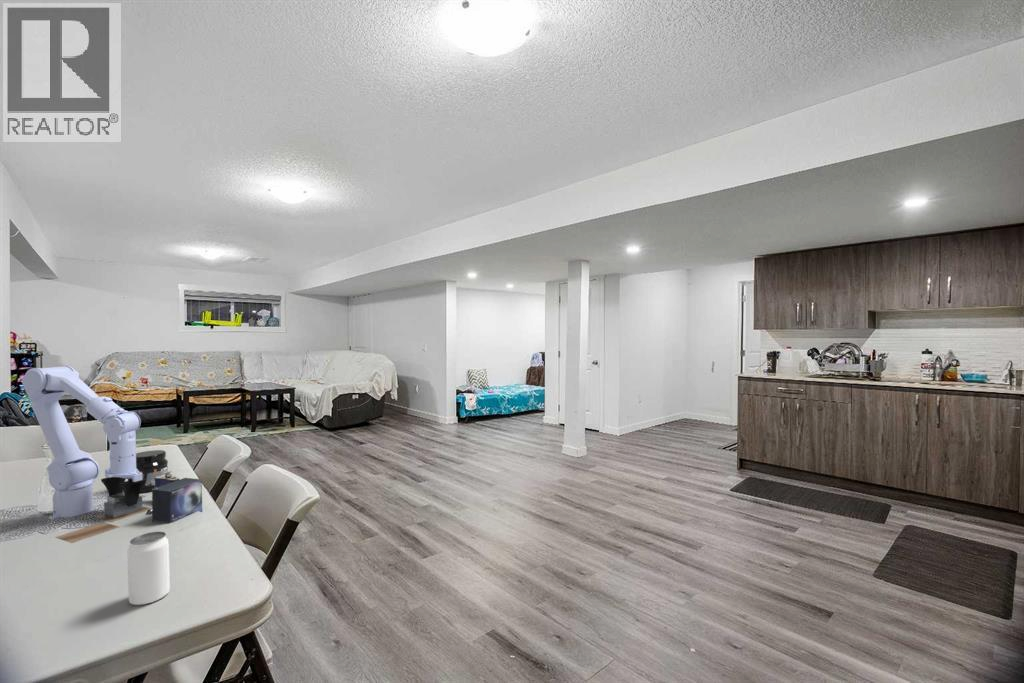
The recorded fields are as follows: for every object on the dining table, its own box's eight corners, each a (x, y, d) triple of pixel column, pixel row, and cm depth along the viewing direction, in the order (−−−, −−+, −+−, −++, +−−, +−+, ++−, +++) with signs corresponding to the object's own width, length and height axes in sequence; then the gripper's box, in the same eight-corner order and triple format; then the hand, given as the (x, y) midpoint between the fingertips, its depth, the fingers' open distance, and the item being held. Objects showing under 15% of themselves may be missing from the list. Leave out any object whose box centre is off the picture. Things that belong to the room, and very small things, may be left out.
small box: (170, 529, 124) (169, 490, 124) (150, 527, 125) (149, 489, 125) (204, 514, 135) (203, 478, 134) (185, 512, 136) (184, 477, 136)
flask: (153, 506, 141) (152, 471, 141) (163, 503, 144) (162, 468, 143) (174, 510, 138) (173, 474, 138) (184, 506, 141) (183, 471, 140)
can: (144, 588, 95) (142, 531, 95) (177, 587, 96) (175, 529, 95) (120, 607, 89) (118, 545, 88) (155, 605, 89) (154, 544, 89)
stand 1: (55, 543, 116) (55, 537, 116) (103, 527, 126) (103, 522, 126) (72, 548, 113) (71, 542, 113) (120, 532, 122) (120, 526, 122)
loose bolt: (146, 520, 130) (145, 510, 130) (153, 516, 133) (153, 507, 133) (166, 520, 130) (165, 511, 130) (173, 516, 133) (173, 507, 133)
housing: (104, 516, 129) (103, 496, 129) (133, 507, 136) (132, 488, 136) (113, 519, 128) (113, 499, 127) (142, 510, 134) (141, 490, 134)
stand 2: (95, 522, 129) (95, 517, 129) (136, 509, 138) (136, 504, 138) (111, 527, 126) (111, 521, 126) (152, 513, 135) (152, 508, 135)
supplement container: (128, 488, 158) (127, 453, 157) (166, 481, 165) (165, 448, 164) (130, 496, 150) (129, 459, 149) (170, 488, 157) (169, 453, 157)
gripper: (91, 456, 131) (92, 504, 131) (121, 462, 125) (122, 512, 125) (121, 450, 137) (121, 495, 137) (150, 455, 131) (151, 503, 132)
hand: (124, 503), depth 132 cm, fingers open, 7 cm apart
